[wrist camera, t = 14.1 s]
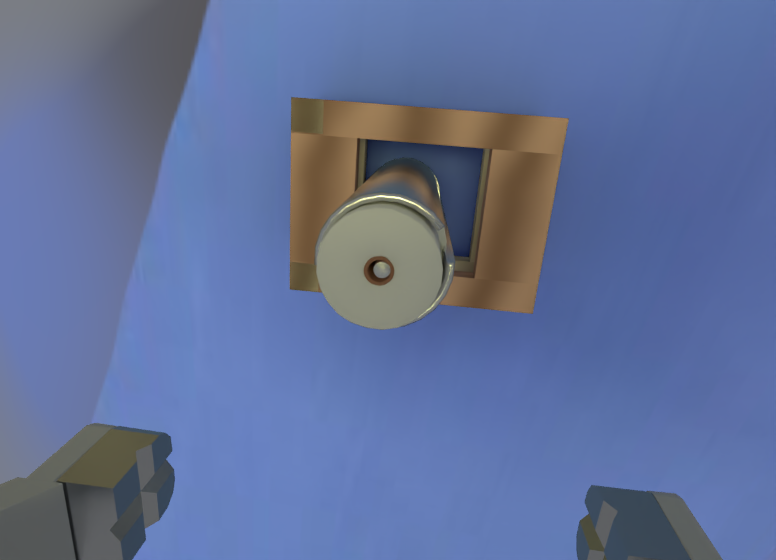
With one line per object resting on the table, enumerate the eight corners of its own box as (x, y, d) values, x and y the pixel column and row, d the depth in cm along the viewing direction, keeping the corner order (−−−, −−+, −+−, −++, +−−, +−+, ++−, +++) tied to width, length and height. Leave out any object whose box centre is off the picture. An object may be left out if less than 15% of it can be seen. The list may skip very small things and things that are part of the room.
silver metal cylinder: (430, 234, 46) (436, 352, 22) (363, 219, 46) (297, 320, 22) (447, 166, 44) (474, 215, 20) (377, 149, 44) (322, 179, 20)
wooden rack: (544, 118, 42) (568, 118, 34) (516, 282, 47) (532, 313, 39) (316, 101, 43) (291, 97, 35) (312, 262, 48) (289, 289, 40)
